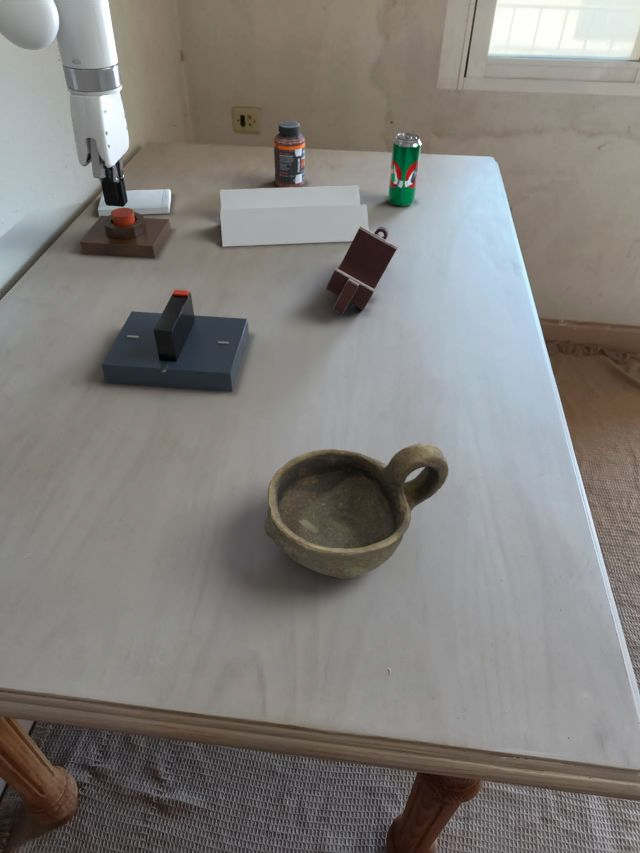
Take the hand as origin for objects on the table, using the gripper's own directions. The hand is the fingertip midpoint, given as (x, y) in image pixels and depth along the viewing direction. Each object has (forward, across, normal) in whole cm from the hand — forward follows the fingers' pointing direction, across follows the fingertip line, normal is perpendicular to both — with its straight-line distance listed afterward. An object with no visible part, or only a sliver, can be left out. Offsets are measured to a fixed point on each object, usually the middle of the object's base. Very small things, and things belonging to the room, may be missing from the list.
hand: (116, 204), depth 101 cm
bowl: (+7, +57, +42) cm, 71 cm away
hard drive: (+7, -14, -2) cm, 16 cm away
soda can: (+6, -22, +47) cm, 52 cm away
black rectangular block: (+4, +31, +18) cm, 36 cm away
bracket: (+6, +12, +41) cm, 43 cm away
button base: (+7, 0, +1) cm, 7 cm away
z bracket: (+6, -9, +28) cm, 30 cm away
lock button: (+3, 0, +1) cm, 3 cm away
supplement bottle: (+6, -28, +25) cm, 38 cm away
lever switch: (+7, +31, +18) cm, 36 cm away
